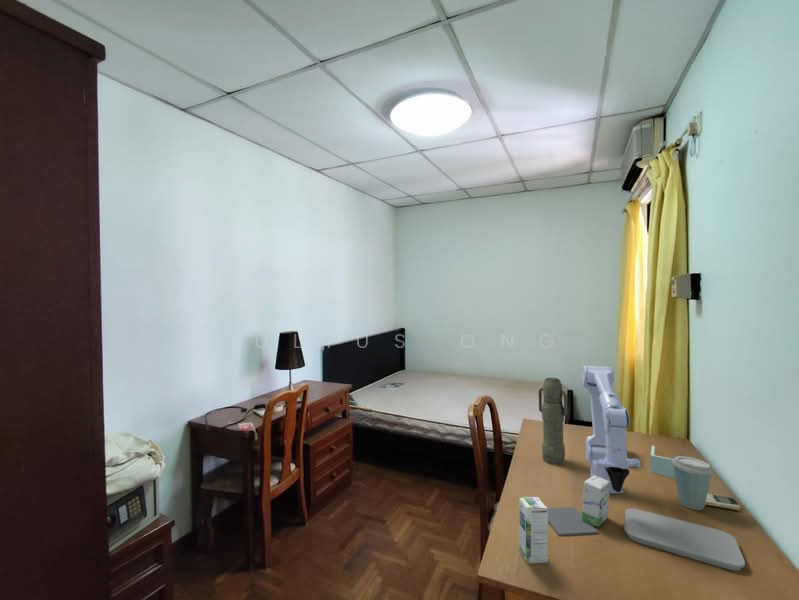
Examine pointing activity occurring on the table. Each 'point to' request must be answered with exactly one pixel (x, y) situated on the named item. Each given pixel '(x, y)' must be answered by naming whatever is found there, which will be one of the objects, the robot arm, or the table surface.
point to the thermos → (553, 420)
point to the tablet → (684, 538)
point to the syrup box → (533, 530)
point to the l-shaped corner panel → (661, 465)
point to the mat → (569, 522)
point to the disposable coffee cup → (692, 481)
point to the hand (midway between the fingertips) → (616, 490)
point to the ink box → (595, 500)
